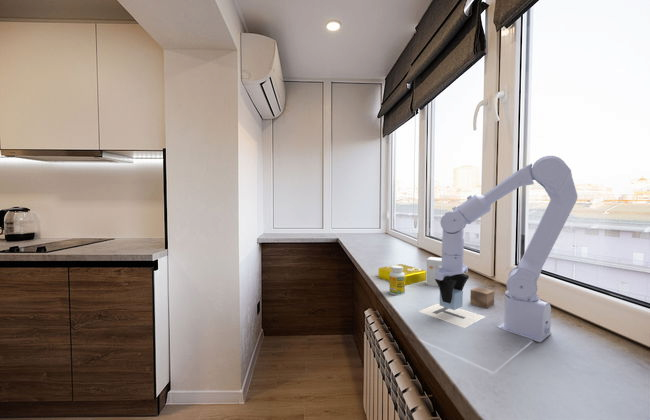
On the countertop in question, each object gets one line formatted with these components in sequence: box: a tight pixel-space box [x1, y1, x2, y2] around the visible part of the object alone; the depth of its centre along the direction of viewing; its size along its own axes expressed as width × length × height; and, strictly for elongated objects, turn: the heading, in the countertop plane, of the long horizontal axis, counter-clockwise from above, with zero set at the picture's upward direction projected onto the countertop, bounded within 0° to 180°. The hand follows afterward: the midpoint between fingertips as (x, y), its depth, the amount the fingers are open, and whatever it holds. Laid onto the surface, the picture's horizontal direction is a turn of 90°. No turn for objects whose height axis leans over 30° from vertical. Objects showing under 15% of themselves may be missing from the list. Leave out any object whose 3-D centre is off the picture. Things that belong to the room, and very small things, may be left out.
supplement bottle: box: [388, 264, 406, 296], centre depth 104 cm, size 5×5×10 cm
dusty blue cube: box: [439, 289, 464, 310], centre depth 85 cm, size 4×4×4 cm
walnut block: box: [469, 286, 495, 309], centre depth 93 cm, size 5×5×5 cm
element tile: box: [377, 263, 427, 286], centre depth 124 cm, size 15×15×5 cm
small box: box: [426, 256, 442, 288], centre depth 113 cm, size 8×6×10 cm
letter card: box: [418, 302, 486, 329], centre depth 85 cm, size 14×12×1 cm
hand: (451, 300), depth 85 cm, fingers closed on dusty blue cube, 4 cm apart
